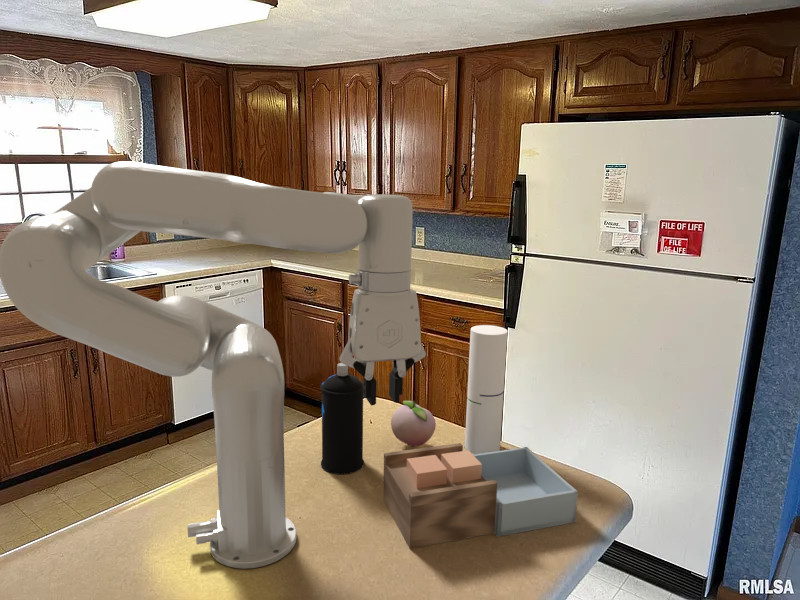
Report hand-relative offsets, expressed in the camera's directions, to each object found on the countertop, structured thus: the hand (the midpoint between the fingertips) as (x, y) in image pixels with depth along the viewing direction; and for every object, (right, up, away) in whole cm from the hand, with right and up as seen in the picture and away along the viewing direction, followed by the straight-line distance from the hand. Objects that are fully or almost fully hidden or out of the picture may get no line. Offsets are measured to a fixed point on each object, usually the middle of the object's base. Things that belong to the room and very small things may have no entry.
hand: (382, 399), depth 89 cm
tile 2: (+13, -13, +7) cm, 20 cm away
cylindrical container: (+19, -15, +32) cm, 40 cm away
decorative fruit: (+5, -15, +31) cm, 35 cm away
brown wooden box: (+9, -20, +7) cm, 23 cm away
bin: (+22, -20, +12) cm, 32 cm away
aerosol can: (-8, -16, +24) cm, 30 cm away
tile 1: (+7, -13, +5) cm, 16 cm away
